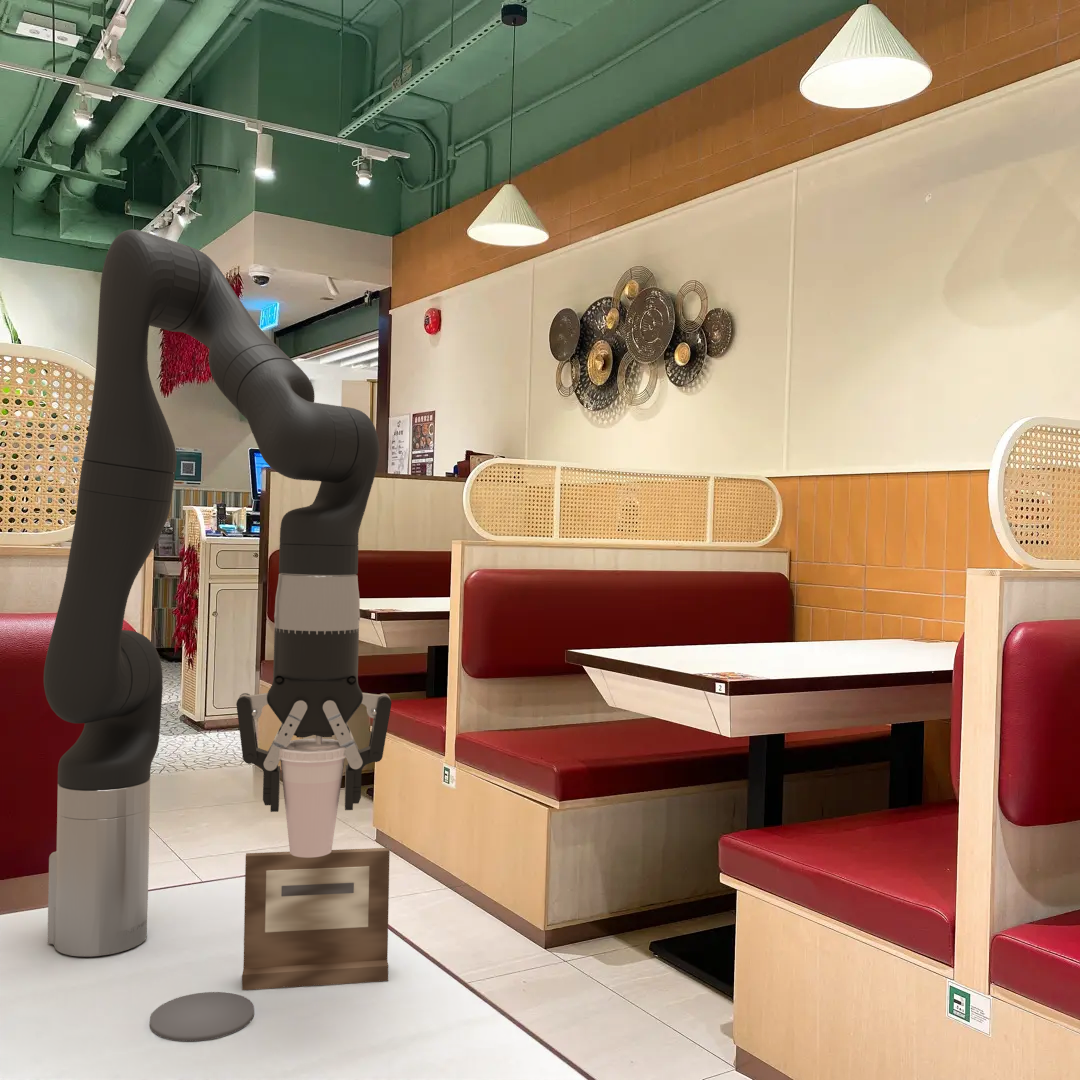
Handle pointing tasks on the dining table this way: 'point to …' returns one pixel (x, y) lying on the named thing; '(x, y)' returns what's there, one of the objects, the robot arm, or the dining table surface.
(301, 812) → the smoothie
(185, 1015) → the coaster
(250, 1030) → the dining table surface
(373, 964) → the placard
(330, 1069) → the dining table surface
